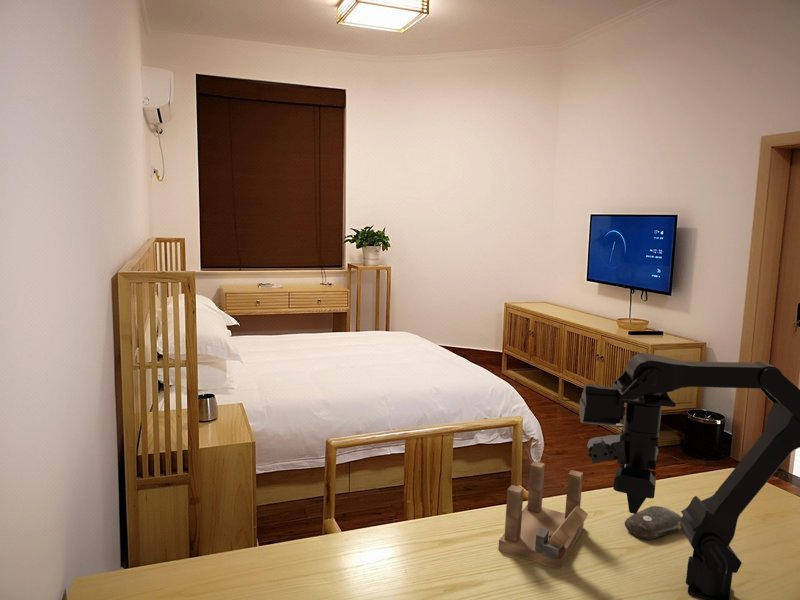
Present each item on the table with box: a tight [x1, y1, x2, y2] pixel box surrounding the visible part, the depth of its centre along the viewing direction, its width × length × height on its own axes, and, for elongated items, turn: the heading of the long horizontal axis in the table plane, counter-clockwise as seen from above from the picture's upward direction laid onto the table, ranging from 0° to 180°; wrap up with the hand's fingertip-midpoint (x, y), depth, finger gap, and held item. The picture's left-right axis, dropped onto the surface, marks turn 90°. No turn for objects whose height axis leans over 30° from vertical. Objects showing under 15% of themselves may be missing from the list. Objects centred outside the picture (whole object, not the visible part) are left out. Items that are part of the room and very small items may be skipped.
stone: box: [624, 505, 682, 540], centre depth 125 cm, size 14×4×10 cm
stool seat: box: [497, 460, 585, 570], centre depth 119 cm, size 12×19×12 cm, turn 150°
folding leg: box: [547, 505, 589, 550], centre depth 110 cm, size 2×3×10 cm
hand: (632, 512), depth 105 cm, fingers closed
